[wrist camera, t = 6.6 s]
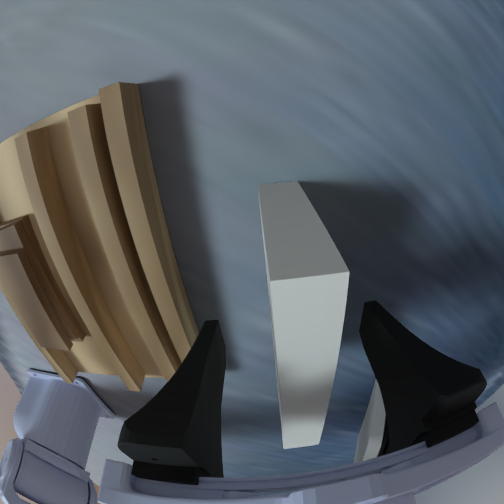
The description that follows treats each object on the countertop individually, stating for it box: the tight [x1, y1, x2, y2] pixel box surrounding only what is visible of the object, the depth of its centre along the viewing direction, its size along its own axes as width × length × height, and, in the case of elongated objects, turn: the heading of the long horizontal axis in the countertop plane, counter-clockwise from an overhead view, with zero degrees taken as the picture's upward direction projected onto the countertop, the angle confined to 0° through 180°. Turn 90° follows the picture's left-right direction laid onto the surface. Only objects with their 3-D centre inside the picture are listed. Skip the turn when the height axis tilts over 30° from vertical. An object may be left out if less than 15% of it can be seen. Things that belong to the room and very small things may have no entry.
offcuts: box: [0, 214, 86, 351], centre depth 15 cm, size 4×10×2 cm, turn 6°
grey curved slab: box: [354, 379, 391, 473], centre depth 23 cm, size 17×5×10 cm, turn 11°
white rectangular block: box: [257, 181, 349, 449], centre depth 13 cm, size 2×12×8 cm, turn 6°
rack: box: [0, 82, 199, 391], centre depth 15 cm, size 14×20×3 cm
